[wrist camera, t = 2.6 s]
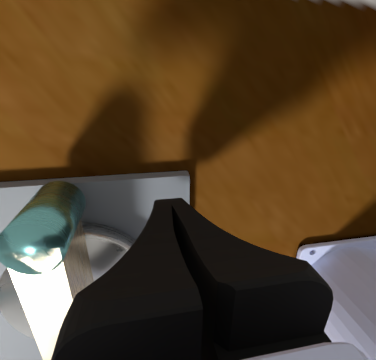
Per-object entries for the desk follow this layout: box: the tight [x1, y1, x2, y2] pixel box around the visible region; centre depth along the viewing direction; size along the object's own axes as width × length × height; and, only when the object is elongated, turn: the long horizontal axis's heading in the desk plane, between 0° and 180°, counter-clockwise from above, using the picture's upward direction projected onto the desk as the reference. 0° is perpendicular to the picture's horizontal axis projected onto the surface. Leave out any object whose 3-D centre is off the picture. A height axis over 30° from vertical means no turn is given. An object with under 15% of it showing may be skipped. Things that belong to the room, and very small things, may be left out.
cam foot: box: [0, 181, 136, 360], centre depth 12 cm, size 11×8×4 cm
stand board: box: [0, 170, 190, 360], centre depth 15 cm, size 16×15×1 cm
